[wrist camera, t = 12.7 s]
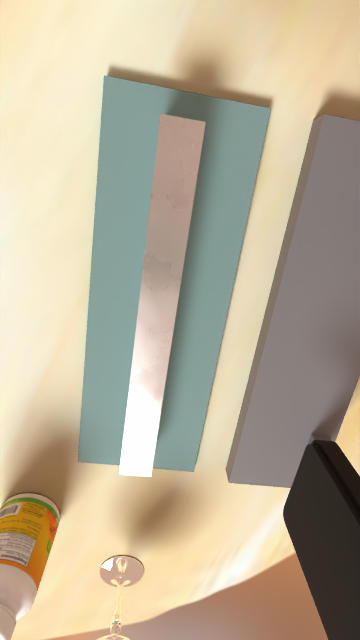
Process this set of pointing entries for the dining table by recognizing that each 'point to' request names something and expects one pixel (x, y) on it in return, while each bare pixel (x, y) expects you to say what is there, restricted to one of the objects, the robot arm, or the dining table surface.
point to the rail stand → (307, 317)
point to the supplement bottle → (23, 554)
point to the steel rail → (160, 285)
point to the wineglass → (120, 586)
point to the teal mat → (128, 257)
